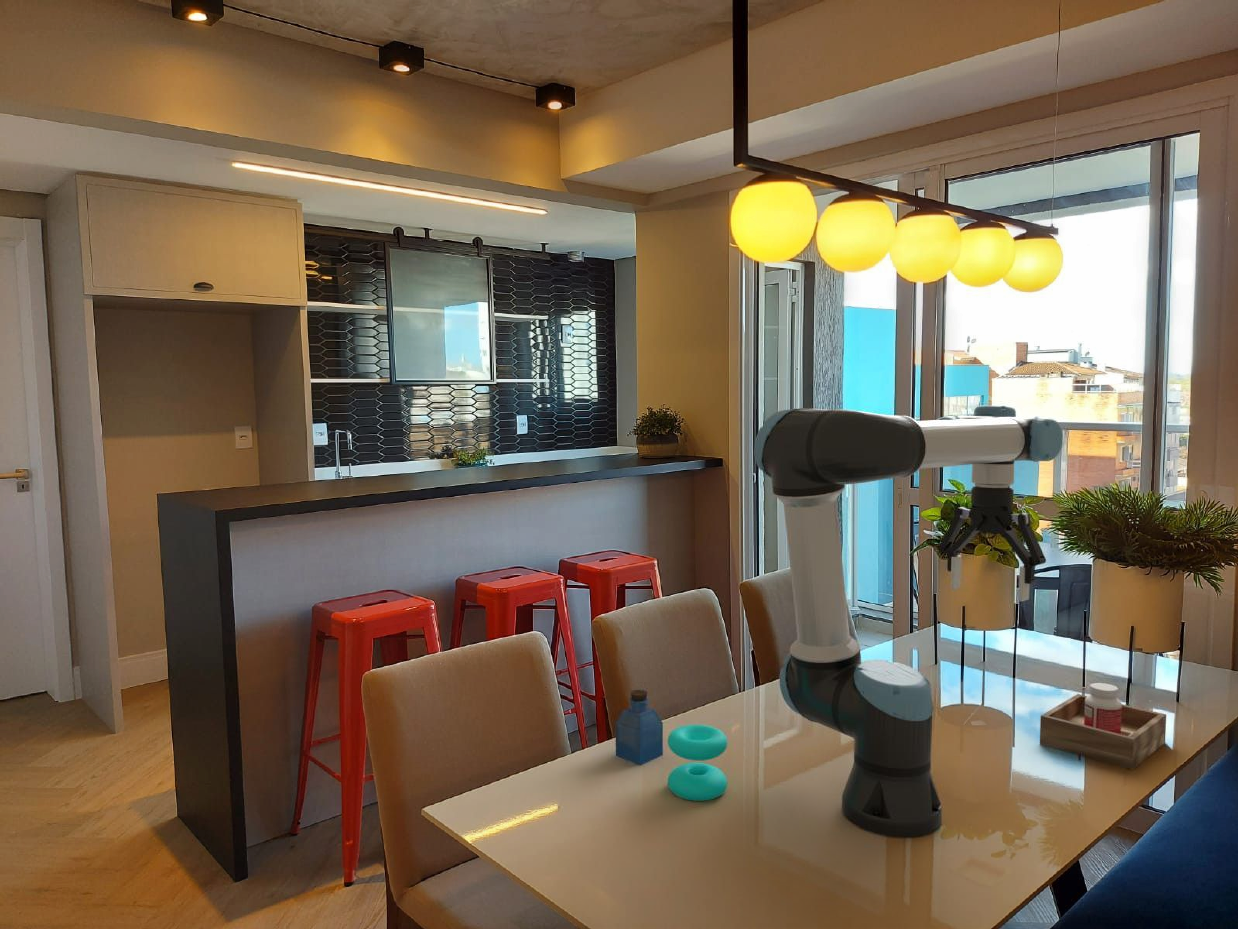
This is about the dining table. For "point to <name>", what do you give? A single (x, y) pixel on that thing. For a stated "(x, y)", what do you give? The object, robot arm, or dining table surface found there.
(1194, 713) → the dining table surface
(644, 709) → the perfume bottle
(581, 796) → the dining table surface
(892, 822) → the robot arm
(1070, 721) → the wooden box
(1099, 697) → the pill bottle
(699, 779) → the donuts
